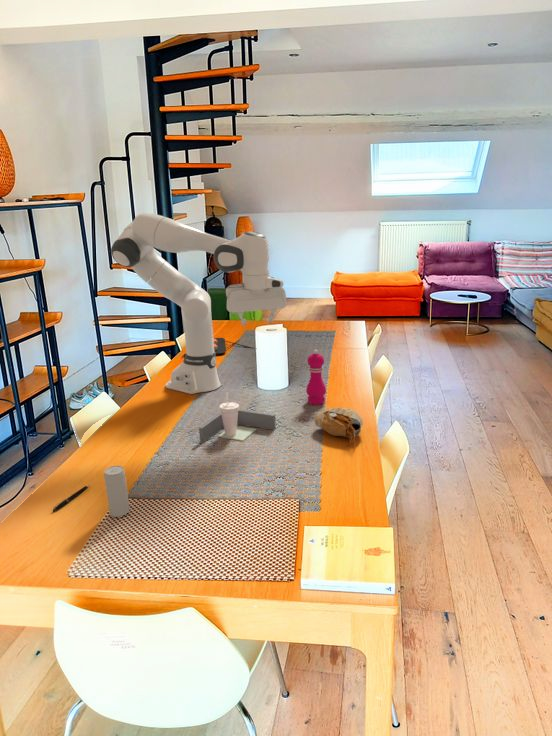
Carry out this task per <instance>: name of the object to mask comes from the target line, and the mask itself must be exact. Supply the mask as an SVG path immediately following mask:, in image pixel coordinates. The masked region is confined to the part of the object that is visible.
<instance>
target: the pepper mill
mask: <svg viewBox="0 0 552 736" xmlns="http://www.w3.org/2000/svg"><path fill="white" fill-rule="evenodd" d="M307 364H308V366H309V367H308V371H309V373H310V376H309V377H310V378H309V381H308V384H307V386H306V390H305V392H306V394H307V395H308V396H307V402H308V404H310V405H313V406H314V405H315V406H317V405H323V404H324V403H325V402H326V400H325V399H326V398H325V395H326V393H327V388H326V384H325V382H324V380H323V376H322V372H323V370H324V366H323V365H324V364H325V358H324V356H323V355H322V354H320V353H319V350H318V349H314V350H313V353H312V354H310V355H309V356H308V357H307Z"/></svg>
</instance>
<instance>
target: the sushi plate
mask: <svg viewBox="0 0 552 736" xmlns="http://www.w3.org/2000/svg"><path fill="white" fill-rule="evenodd" d="M213 340H214V351H215V353H216V355H223V354H225V353H226V351H227V349H229V348H230V347H232V346H233V345H236V346H237V345H238V346H241V347H244V348H248V349H252V350H253V349H255V348H256V347H252V346H248V345H244V344H240V343H239V342H240V341H241V339H238V340H236V341H235V342H233V341H228V340H226V339H225V338H224V337H213ZM226 343H230V345H229V346H226ZM255 350H256V349H255Z"/></svg>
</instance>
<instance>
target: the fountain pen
mask: <svg viewBox="0 0 552 736" xmlns="http://www.w3.org/2000/svg"><path fill="white" fill-rule="evenodd" d="M90 485H91V483H90V484H88V485H85V486H83V487H82V488H80V489H79V490H77V491H76V492H75V493H73V494H71V495H70V496H68V497H67V498H63V499H62V500H60V501H59V502H58V503H56V505H55V506H53V509H52V513H54V512H57V511H60V509H62V508H63V507H65V506H67V505H68V504H70V502H71V501H73V500H74V499H75V498H77V497H78V496H80V494H82V493H83V492H85V491H86V490H87V489H88V487H90Z"/></svg>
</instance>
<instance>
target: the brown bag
mask: <svg viewBox="0 0 552 736" xmlns="http://www.w3.org/2000/svg"><path fill="white" fill-rule="evenodd" d="M314 424H315V426H317V427H319V428H320V429H322V430H323V431H325V432H326V433H328V434H329V435H332V436H335V437H337V436H340V437H343V438H347V439H348V444H346V447H348V446H349V445H351V443H352V444H354V445H353V448H355V446H356V437H358V436H359V434H360V433H361V431H362V430H361V429H362V426H363V425H364V421H363V419H362V417H361V415H360V414H359V413H357V412H356V411H355V410H354V409H351V408H346V407H331V408H327V409H324V410H320V411H319V412H318V413H317V414H316V416H315V417H314Z"/></svg>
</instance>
